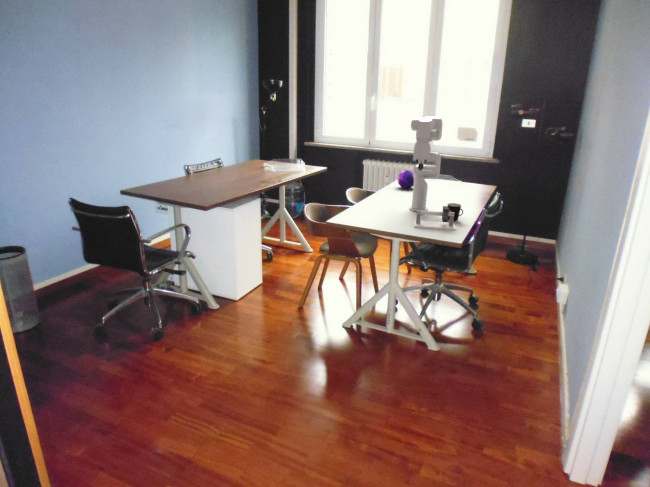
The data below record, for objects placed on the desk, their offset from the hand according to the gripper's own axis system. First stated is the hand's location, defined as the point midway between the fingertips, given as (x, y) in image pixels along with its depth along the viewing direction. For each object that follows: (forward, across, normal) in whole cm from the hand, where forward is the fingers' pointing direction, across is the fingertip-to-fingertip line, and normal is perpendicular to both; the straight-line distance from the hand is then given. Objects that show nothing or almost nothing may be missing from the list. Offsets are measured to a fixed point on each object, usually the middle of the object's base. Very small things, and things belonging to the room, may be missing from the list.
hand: (420, 170), depth 301 cm
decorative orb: (+33, +6, -93) cm, 99 cm away
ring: (+28, -17, +14) cm, 35 cm away
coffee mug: (+32, -24, -2) cm, 40 cm away
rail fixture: (+32, -11, +14) cm, 36 cm away
